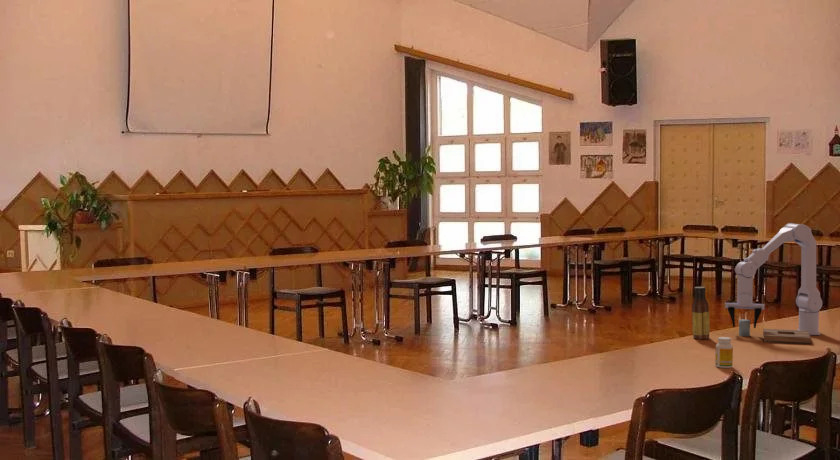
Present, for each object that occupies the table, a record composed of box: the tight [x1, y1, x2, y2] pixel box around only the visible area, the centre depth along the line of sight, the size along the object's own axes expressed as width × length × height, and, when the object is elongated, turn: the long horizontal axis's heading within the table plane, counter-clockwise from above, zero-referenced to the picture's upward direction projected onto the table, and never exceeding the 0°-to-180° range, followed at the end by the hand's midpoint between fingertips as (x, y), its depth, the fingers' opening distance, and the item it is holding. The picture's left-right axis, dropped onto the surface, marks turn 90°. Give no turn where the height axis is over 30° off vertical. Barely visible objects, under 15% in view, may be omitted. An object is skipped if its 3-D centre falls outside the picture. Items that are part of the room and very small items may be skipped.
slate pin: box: [738, 318, 751, 337], centre depth 361 cm, size 4×4×6 cm
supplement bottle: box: [714, 336, 734, 369], centre depth 303 cm, size 5×5×10 cm
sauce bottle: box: [691, 286, 710, 340], centre depth 355 cm, size 7×6×20 cm
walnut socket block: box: [762, 328, 812, 345], centre depth 351 cm, size 16×16×2 cm
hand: (744, 327), depth 361 cm, fingers open, 7 cm apart
